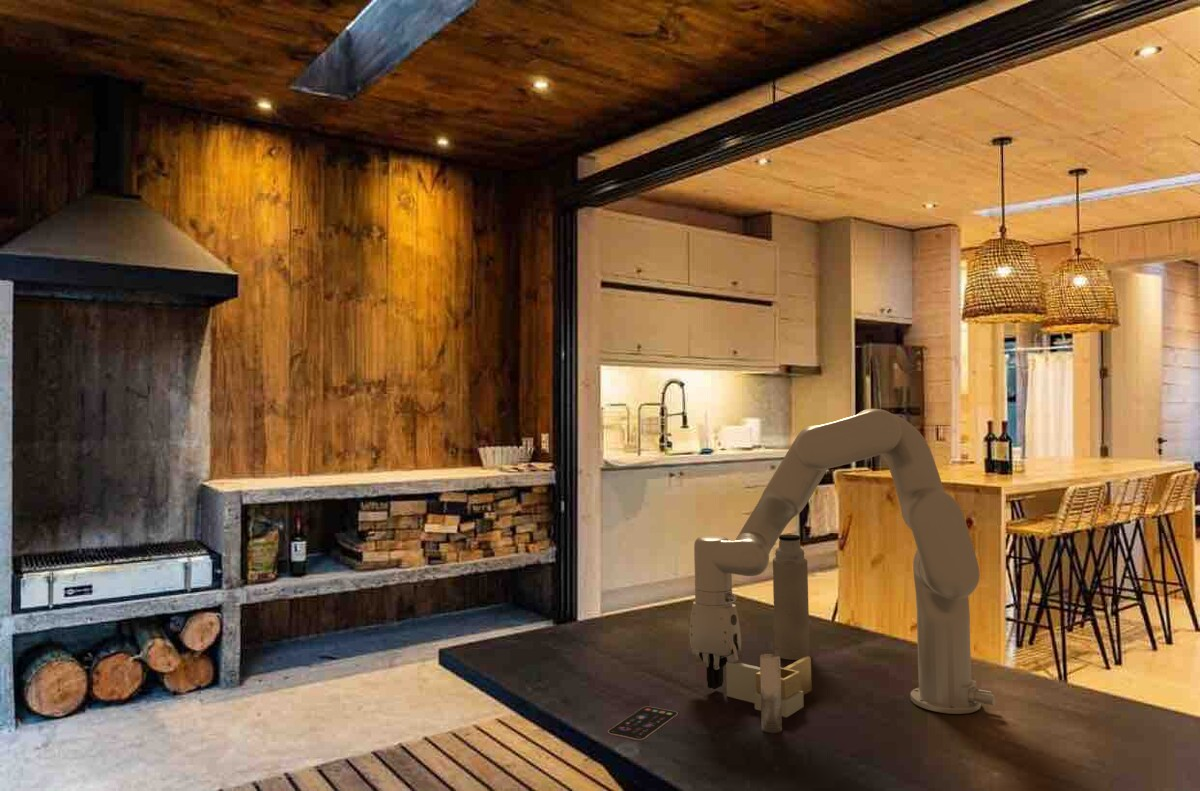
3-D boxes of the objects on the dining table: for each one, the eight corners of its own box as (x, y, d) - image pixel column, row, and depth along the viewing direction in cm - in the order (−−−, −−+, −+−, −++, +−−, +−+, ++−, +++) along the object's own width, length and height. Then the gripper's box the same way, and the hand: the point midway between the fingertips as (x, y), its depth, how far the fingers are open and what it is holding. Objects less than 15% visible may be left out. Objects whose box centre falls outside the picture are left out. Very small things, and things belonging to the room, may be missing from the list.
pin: (785, 728, 146) (783, 656, 146) (775, 734, 143) (773, 661, 144) (767, 723, 148) (766, 652, 149) (757, 729, 146) (756, 657, 146)
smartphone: (679, 712, 154) (641, 740, 142) (679, 715, 154) (641, 743, 142) (645, 705, 158) (605, 732, 146) (645, 708, 158) (605, 735, 146)
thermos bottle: (772, 649, 194) (770, 532, 194) (806, 649, 193) (803, 532, 193) (776, 659, 186) (774, 537, 186) (812, 660, 185) (809, 537, 186)
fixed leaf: (823, 693, 164) (822, 659, 164) (785, 716, 152) (784, 680, 152) (795, 686, 168) (794, 653, 168) (756, 708, 156) (755, 673, 156)
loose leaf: (803, 706, 156) (802, 671, 156) (786, 717, 151) (785, 680, 151) (737, 690, 166) (736, 657, 166) (719, 699, 161) (718, 665, 161)
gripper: (754, 598, 164) (756, 689, 164) (693, 589, 174) (695, 674, 173) (734, 606, 158) (736, 700, 158) (673, 595, 168) (674, 683, 168)
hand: (715, 686), depth 166 cm, fingers closed
